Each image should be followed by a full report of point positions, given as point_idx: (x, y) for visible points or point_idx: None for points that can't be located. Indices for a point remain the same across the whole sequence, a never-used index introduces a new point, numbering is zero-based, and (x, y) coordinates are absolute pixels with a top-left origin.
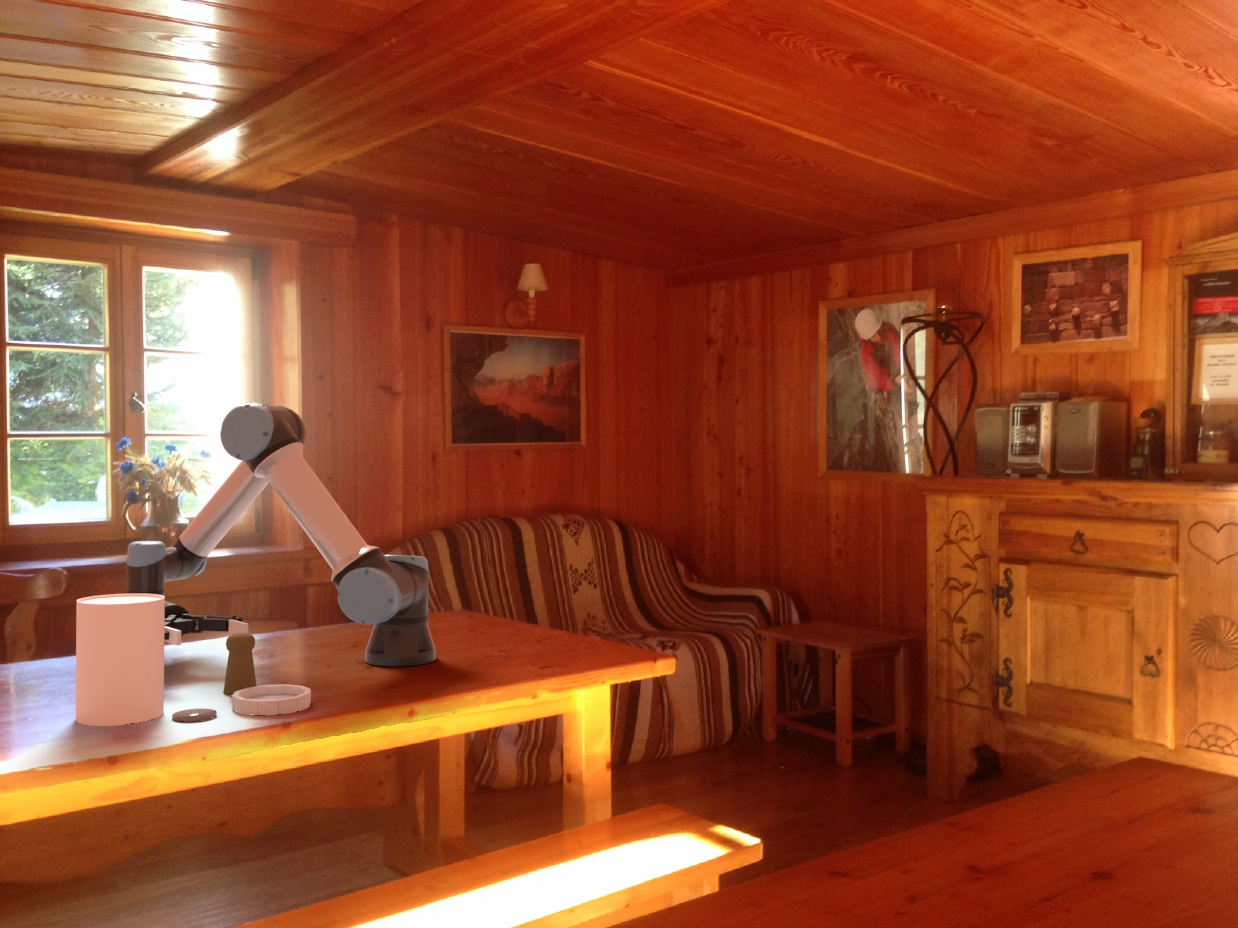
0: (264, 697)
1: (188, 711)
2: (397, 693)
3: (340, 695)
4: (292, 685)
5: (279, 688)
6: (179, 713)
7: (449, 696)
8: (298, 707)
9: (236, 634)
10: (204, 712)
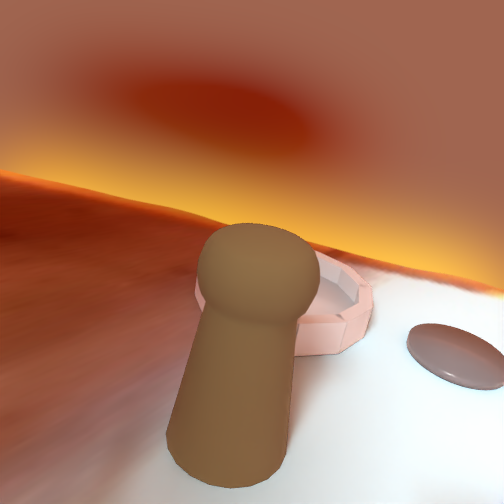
0: None
1: (467, 368)
2: (56, 221)
3: (119, 265)
4: None
5: None
6: (491, 370)
7: (49, 186)
8: None
9: (289, 238)
10: (435, 342)
